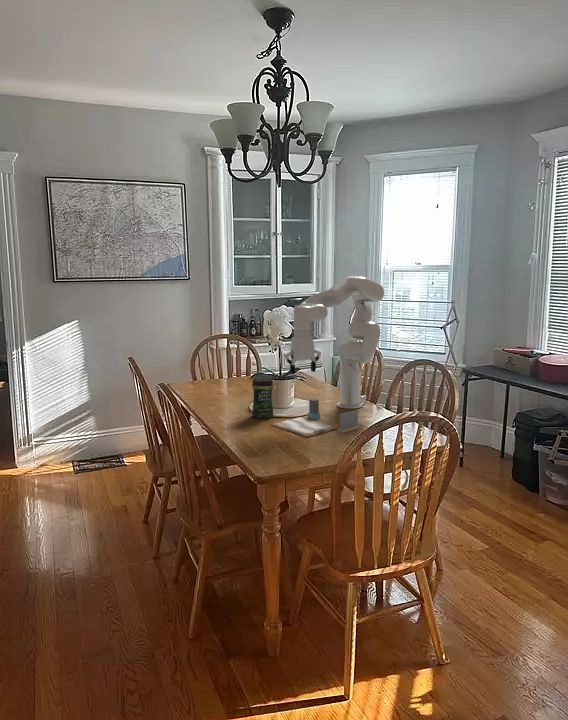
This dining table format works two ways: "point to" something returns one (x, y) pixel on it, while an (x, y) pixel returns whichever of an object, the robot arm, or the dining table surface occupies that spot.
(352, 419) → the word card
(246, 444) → the dining table surface
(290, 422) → the white flat pad
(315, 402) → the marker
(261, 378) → the coffee jar
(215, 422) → the dining table surface
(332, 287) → the robot arm
